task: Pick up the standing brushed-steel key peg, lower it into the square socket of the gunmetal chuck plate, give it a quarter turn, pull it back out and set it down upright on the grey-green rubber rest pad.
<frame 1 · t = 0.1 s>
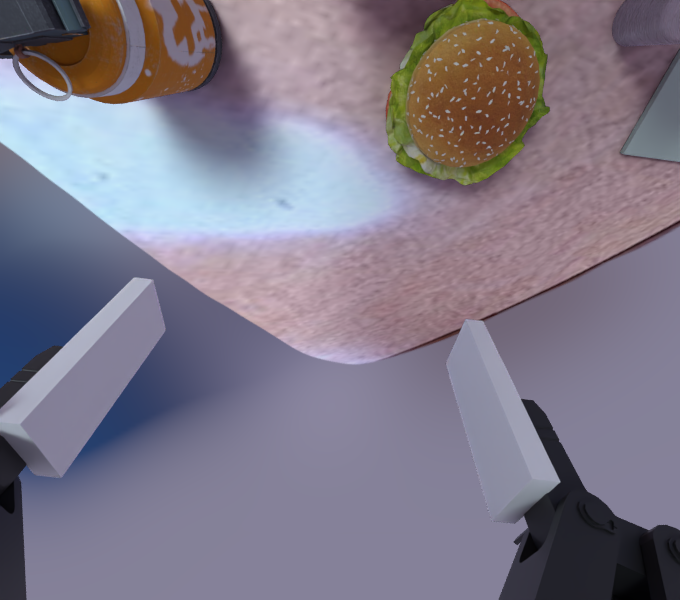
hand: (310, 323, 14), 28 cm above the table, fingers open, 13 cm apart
canister: (166, 35, 31), on the table
key peg: (638, 17, 29), on the table
food: (451, 100, 33), on the table
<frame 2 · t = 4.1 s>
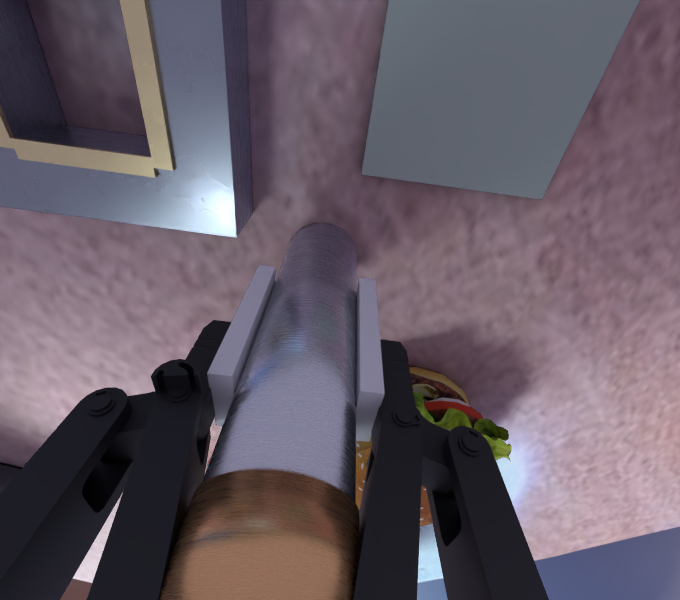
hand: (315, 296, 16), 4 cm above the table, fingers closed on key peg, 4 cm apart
chuck plate: (109, 62, 14), on the table
key peg: (322, 255, 19), on the table, touching gripper
rest pad: (483, 76, 14), on the table
food: (400, 409, 28), on the table
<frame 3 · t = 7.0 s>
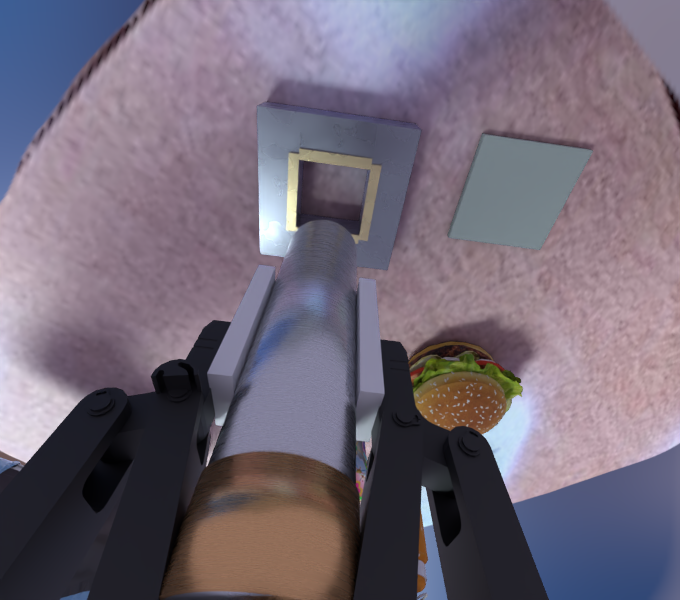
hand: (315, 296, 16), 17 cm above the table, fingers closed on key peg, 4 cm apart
canister: (390, 474, 60), on the table
chuck plate: (333, 188, 30), on the table
key peg: (323, 251, 20), point 12 cm above the table, touching gripper
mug: (334, 415, 50), on the table
rest pad: (512, 195, 30), on the table
food: (449, 371, 44), on the table
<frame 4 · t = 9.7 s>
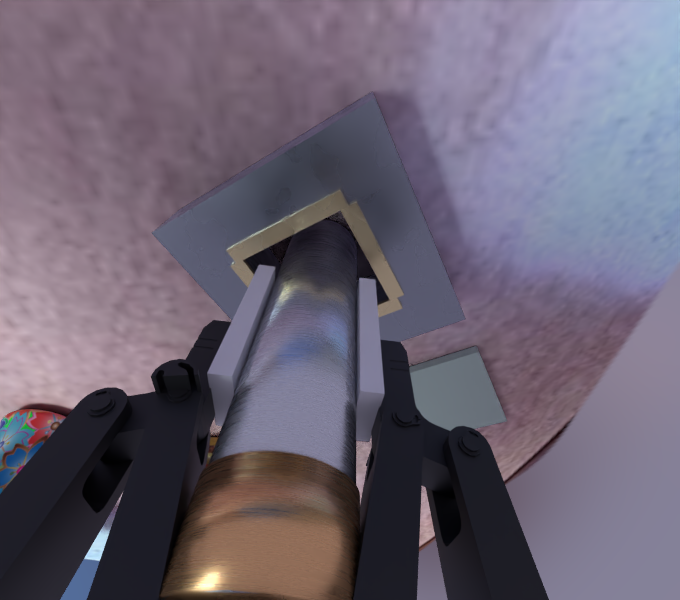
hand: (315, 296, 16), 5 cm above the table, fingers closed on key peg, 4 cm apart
chuck plate: (323, 251, 20), on the table
key peg: (323, 251, 20), resting in chuck plate, touching gripper
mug: (45, 423, 33), on the table
rest pad: (436, 398, 27), on the table
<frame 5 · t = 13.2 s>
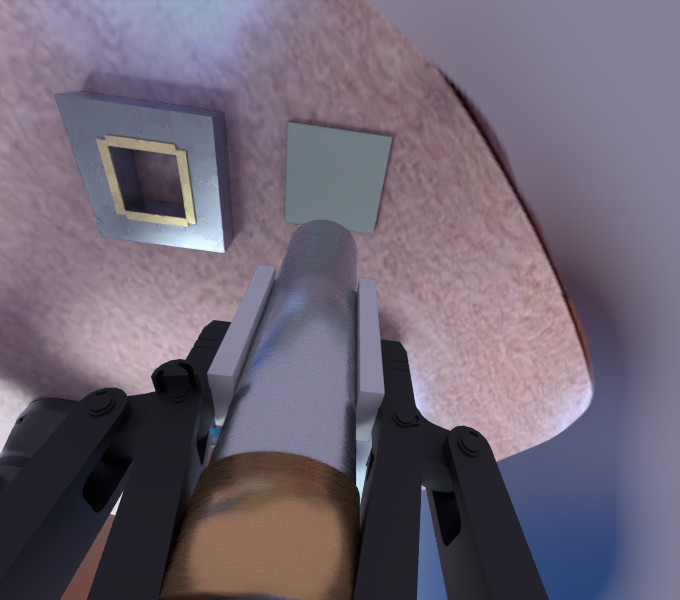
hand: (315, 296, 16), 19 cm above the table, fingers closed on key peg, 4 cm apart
chuck plate: (166, 174, 32), on the table
key peg: (323, 251, 20), point 14 cm above the table, touching gripper
rest pad: (334, 181, 31), on the table
when the fingers open (5 cm above the table, at t = 15.7 s): key peg stays where it is, resting on rest pad.
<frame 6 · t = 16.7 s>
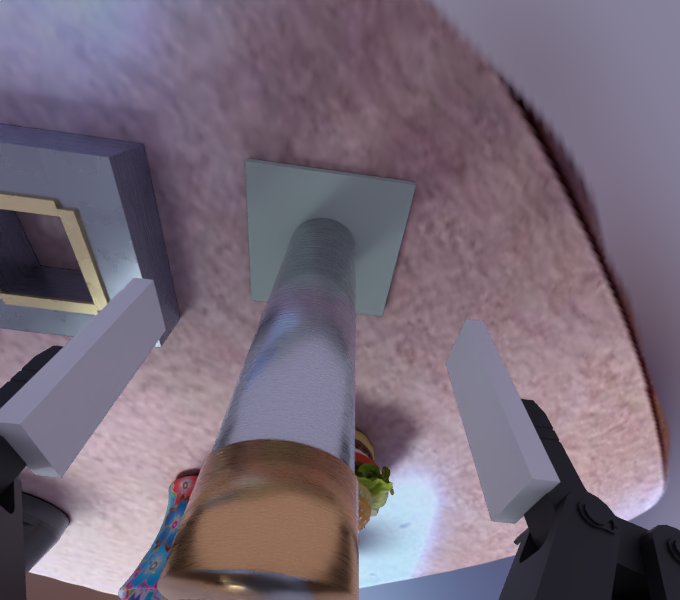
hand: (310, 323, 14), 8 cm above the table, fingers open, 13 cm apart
chuck plate: (67, 233, 21), on the table
key peg: (322, 249, 20), point 1 cm above the table, touching rest pad
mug: (201, 487, 41), on the table
rest pad: (324, 245, 20), on the table
food: (322, 447, 35), on the table
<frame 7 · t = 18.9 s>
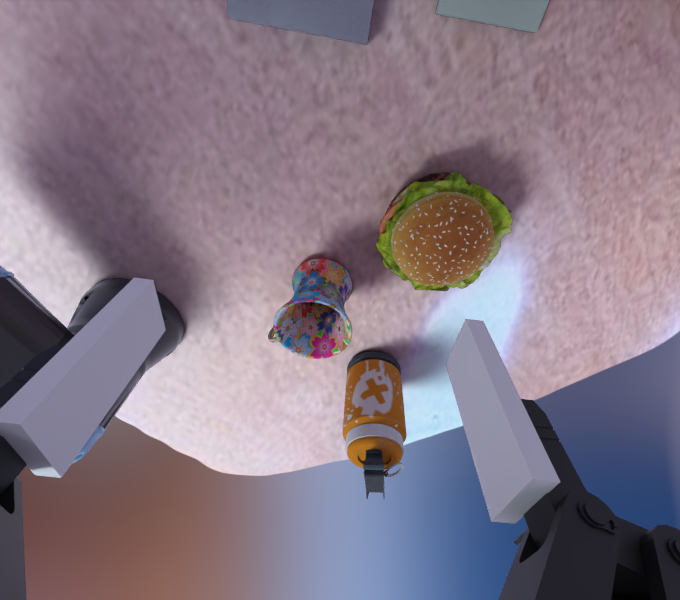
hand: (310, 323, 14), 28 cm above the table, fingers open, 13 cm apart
canister: (373, 370, 58), on the table
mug: (315, 284, 48), on the table
food: (436, 223, 41), on the table
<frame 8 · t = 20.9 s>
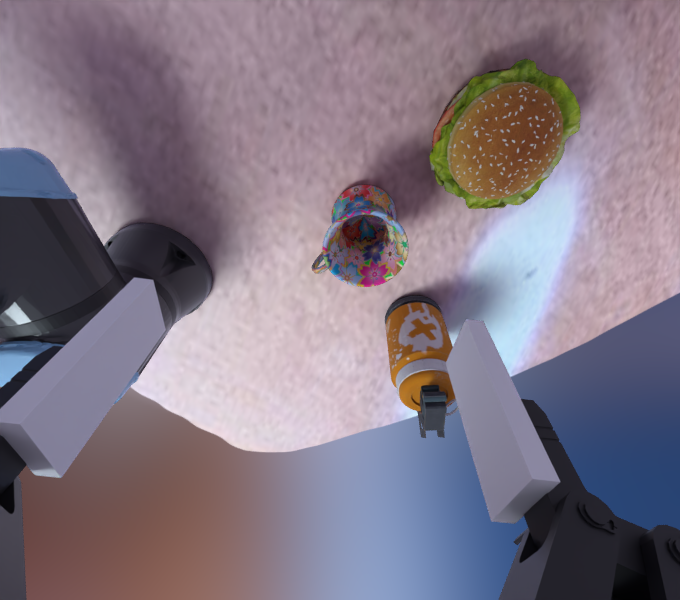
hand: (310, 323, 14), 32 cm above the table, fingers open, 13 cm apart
canister: (412, 319, 55), on the table
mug: (355, 219, 45), on the table
food: (489, 137, 39), on the table
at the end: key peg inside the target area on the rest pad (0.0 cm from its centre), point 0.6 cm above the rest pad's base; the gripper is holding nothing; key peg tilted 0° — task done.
